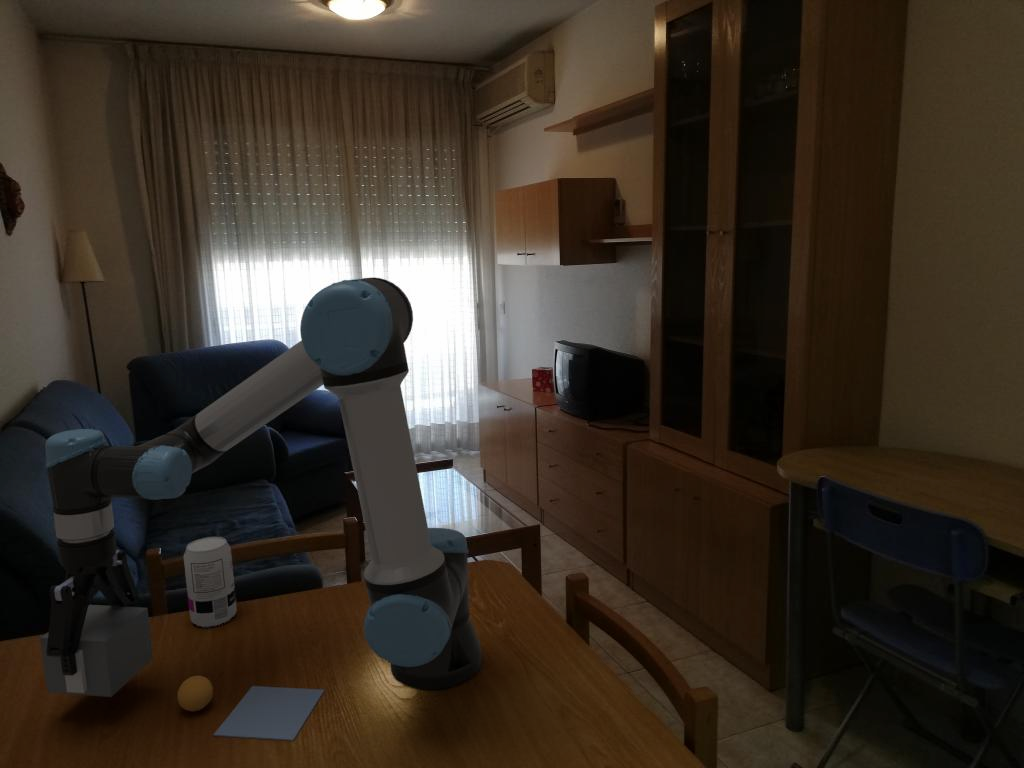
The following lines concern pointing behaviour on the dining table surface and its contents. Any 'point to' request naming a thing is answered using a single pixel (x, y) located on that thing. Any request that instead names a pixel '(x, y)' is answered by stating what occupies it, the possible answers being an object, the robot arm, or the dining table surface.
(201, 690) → the ball
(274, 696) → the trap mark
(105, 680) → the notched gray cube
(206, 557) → the supplement can
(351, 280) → the robot arm
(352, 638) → the dining table surface
